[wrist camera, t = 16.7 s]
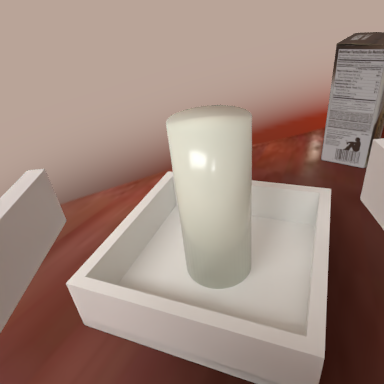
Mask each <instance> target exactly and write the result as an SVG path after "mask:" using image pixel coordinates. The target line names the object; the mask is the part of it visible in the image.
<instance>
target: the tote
mask: <svg viewBox="0 0 384 384" xmlns="http://www.w3.org/2000/svg"><path fill="white" fill-rule="evenodd" d="M330 206H331V189H328V188H318V187H309V186H300V185H290V184H281V183H271V182H262V181H253V180H252V217H251V270H250V273H249V275H248V276H247V277H246V279H245V280H243V281H242V282H241V283H239V284H237V285H235V286H233V287H229V288H224V289H212V288H207V287H204V286H202V285H200V284H198V283H196V282H195V281H194V280H193V279H192V278H191V277H190V275H189V273H188V271H187V265H186V258H185V251H184V244H183V237H182V231H181V224H180V217H179V210H178V203H177V196H176V189H175V182H174V176H173V172H167V173H166V174H165V176H164V177H163V178H162V179H161V180H160V181H159V182H158V183H157V184H156V185H155V186H154V188H153V189H152V190H151V191H150V192H149V193H148V194H147V195H146V196H145V197H144V199H143V200H142V201H141V202H140V203H139V204H138V205H137V206H136V207H135V208H134V209H133V211H132V212H131V213H130V214H129V215H128V216H127V217H126V218H125V219H124V220H123V222H122V223H121V224H120V225H119V226H118V227H117V228H116V229H115V230H114V231H113V232H112V234H111V235H110V236H109V237H108V238H107V239H106V240H105V241H104V242H103V243H102V245H101V246H100V247H99V248H98V249H97V250H96V251H95V252H94V253H93V254H92V255H91V257H90V258H89V259H88V260H87V261H86V262H85V263H84V264H83V265H82V266H81V268H80V269H79V270H78V271H77V272H76V273H75V274H74V275H73V276H72V277H71V278H70V280H69V281H68V282H67V283H66V285H67V287H68V289H69V291H70V294H71V296H72V298H73V300H74V303H75V305H76V307H77V309H78V312H79V314H80V316H81V318H82V321H83V323H84V325H86V326H89V327H92V328H95V329H98V330H101V331H104V332H107V333H110V334H112V335H115V336H118V337H121V338H124V339H127V340H130V341H133V342H136V343H139V344H142V345H145V346H148V347H151V348H153V349H156V350H159V351H162V352H165V353H168V354H171V355H174V356H177V357H180V358H183V359H186V360H189V361H191V362H194V363H197V364H200V365H203V366H206V367H209V368H212V369H215V370H218V371H221V372H224V373H227V374H230V375H232V376H235V377H238V378H241V379H244V380H247V381H250V382H253V383H256V384H319V380H320V376H321V372H322V367H323V363H324V359H325V334H326V308H327V283H328V257H329V231H330Z"/></svg>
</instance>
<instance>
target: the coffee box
mask: <svg viewBox="0 0 384 384" xmlns="http://www.w3.org/2000/svg"><path fill="white" fill-rule="evenodd" d="M383 126H384V33H381V32H373V33H355V34H353V35H352V36H350V37H348V38H346V39H344V40H343V41H341V42H339V43H337V47H336V54H335V62H334V69H333V76H332V84H331V91H330V99H329V106H328V113H327V120H326V127H325V134H324V141H323V149H322V156H321V160H325V161H330V162H335V163H340V164H345V165H350V166H355V167H360V168H366V166H367V165H368V161H369V156H370V151H371V147H372V142H373V139H381V135H382V130H383Z"/></svg>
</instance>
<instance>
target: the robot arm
mask: <svg viewBox="0 0 384 384" xmlns="http://www.w3.org/2000/svg"><path fill="white" fill-rule="evenodd" d="M360 199H361V201H362V202H363V203H364V205H365V206H366V207H367V209H368V210H369V211H370V212H371V214H372V215H373V216H374V218H375V219H376V220H377V222H378V223H379V224H380V226H381V227H382V228H383V230H384V138H382V139H373V142H372V147H371V151H370V156H369V161H368V165H367V170H366V174H365V179H364V183H363V188H362V193H361V197H360ZM65 223H66V218H65V216H64V214H63V211H62V209H61V206H60V204H59V202H58V200H57V197H56V195H55V192H54V190H53V187H52V185H51V183H50V180H49V178H48V175H47V173H46V171H45V169H37V170H27V171H26V172H25V173H24V174H23V175H22V176H21V177H20V178H19V179H18V180H17V182H16V183H15V184H14V185H13V186H12V187H11V188H10V189H9V190H8V191H7V192H6V193H5V194H4V195H3V196H2V197H1V198H0V333H1V331H2V329H3V328H4V326H5V324H6V323H7V321H8V319H9V318H10V316H11V314H12V312H13V311H14V309H15V307H16V306H17V304H18V302H19V301H20V299H21V297H22V295H23V294H24V292H25V290H26V289H27V287H28V285H29V284H30V282H31V280H32V279H33V277H34V275H35V273H36V272H37V270H38V268H39V267H40V265H41V263H42V262H43V260H44V258H45V257H46V255H47V253H48V251H49V250H50V248H51V246H52V245H53V243H54V241H55V240H56V238H57V236H58V235H59V233H60V231H61V229H62V228H63V226H64V224H65Z"/></svg>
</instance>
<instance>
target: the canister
mask: <svg viewBox="0 0 384 384" xmlns="http://www.w3.org/2000/svg"><path fill="white" fill-rule="evenodd" d="M166 127H167V134H168V141H169V147H170V155H171V161H172V169H173V176H174V182H175V189H176V196H177V203H178V210H179V217H180V224H181V231H182V237H183V244H184V251H185V258H186V265H187V271H188V273H189V275H190V277H191V278H192V279H193V280H194V281H195V282H196V283H198V284H200V285H202V286H204V287H207V288H212V289H224V288H229V287H233V286H235V285H237V284H239V283H241V282H242V281H243V280H245V279H246V277H247V276H248V275H249V273H250V270H251V217H252V115H251V113H250V112H249V111H248V110H246V109H243V108H240V107H235V106H226V105H212V106H201V107H195V108H191V109H187V110H183V111H181V112H178V113H176V114H174V115H172V116H171V117H169V118H168V119H167V121H166Z"/></svg>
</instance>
